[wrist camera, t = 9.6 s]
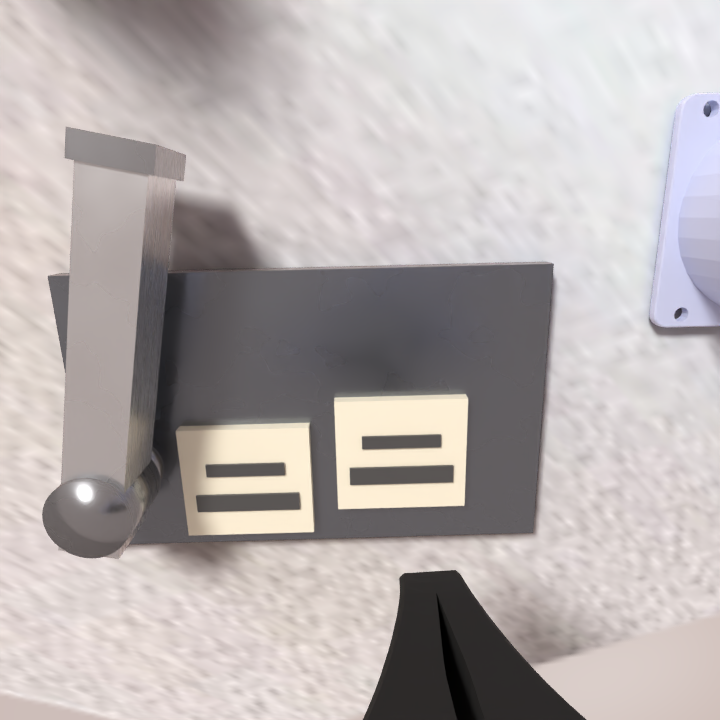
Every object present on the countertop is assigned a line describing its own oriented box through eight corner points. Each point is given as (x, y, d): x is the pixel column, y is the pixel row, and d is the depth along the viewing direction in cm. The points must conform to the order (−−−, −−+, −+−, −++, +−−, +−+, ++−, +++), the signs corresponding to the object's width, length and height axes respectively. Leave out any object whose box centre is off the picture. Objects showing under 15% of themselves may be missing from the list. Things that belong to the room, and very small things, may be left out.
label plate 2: (465, 394, 20) (468, 399, 19) (461, 499, 21) (465, 507, 21) (334, 397, 20) (334, 402, 19) (338, 502, 21) (338, 510, 21)
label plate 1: (309, 422, 20) (308, 429, 20) (314, 524, 21) (313, 533, 21) (179, 426, 20) (174, 432, 20) (192, 528, 21) (188, 537, 21)
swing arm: (157, 519, 20) (127, 566, 17) (83, 507, 20) (41, 553, 17) (192, 156, 17) (161, 145, 14) (103, 138, 16) (54, 123, 14)
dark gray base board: (545, 261, 19) (559, 265, 18) (526, 521, 22) (537, 541, 21) (59, 273, 19) (37, 277, 18) (105, 533, 22) (89, 554, 21)
